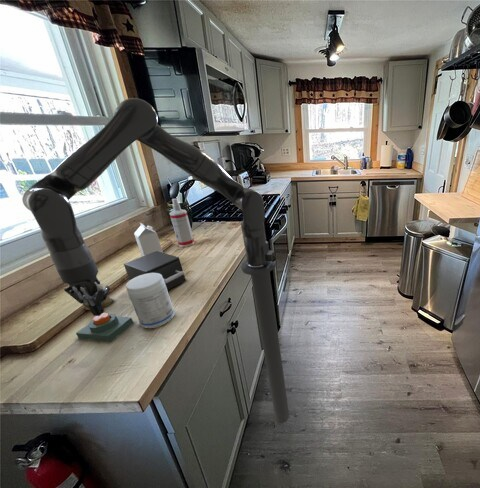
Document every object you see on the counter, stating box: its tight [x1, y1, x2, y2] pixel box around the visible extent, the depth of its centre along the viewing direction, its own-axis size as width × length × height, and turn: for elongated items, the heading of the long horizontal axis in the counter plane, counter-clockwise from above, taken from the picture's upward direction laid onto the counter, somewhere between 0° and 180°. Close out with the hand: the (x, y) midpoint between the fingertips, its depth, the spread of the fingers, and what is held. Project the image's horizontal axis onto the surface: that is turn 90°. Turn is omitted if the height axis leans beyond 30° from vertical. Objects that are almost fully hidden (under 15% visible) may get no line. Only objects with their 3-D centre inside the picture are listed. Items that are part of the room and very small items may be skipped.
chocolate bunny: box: [81, 296, 114, 311], centre depth 89 cm, size 6×8×10 cm
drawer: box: [149, 260, 187, 291], centre depth 99 cm, size 18×11×9 cm, turn 62°
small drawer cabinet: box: [123, 251, 187, 291], centre depth 101 cm, size 15×13×11 cm
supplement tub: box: [125, 273, 175, 329], centre depth 80 cm, size 10×10×15 cm
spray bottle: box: [169, 198, 195, 248], centre depth 135 cm, size 8×8×25 cm
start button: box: [92, 312, 110, 325], centre depth 77 cm, size 4×4×2 cm
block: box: [75, 312, 134, 343], centre depth 78 cm, size 11×8×4 cm
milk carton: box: [133, 222, 164, 257], centre depth 117 cm, size 7×7×19 cm
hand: (99, 314), depth 76 cm, fingers closed
